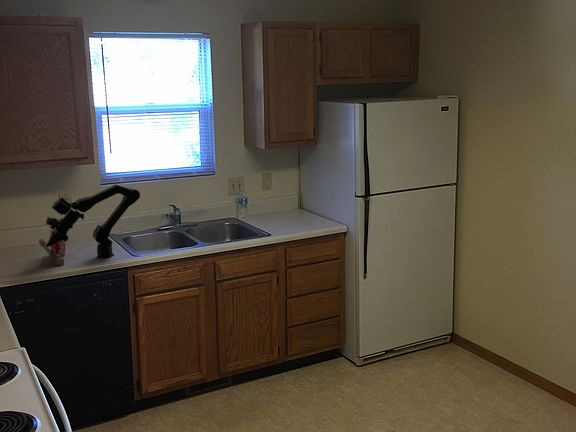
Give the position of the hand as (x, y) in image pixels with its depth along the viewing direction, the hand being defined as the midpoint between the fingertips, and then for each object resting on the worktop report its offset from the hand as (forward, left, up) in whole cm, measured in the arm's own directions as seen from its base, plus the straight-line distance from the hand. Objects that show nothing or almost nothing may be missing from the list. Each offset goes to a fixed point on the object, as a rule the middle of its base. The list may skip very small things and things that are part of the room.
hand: (47, 246), depth 307 cm
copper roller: (-2, -2, -6) cm, 6 cm away
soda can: (+4, -15, -9) cm, 18 cm away
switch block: (-2, -2, -9) cm, 9 cm away
